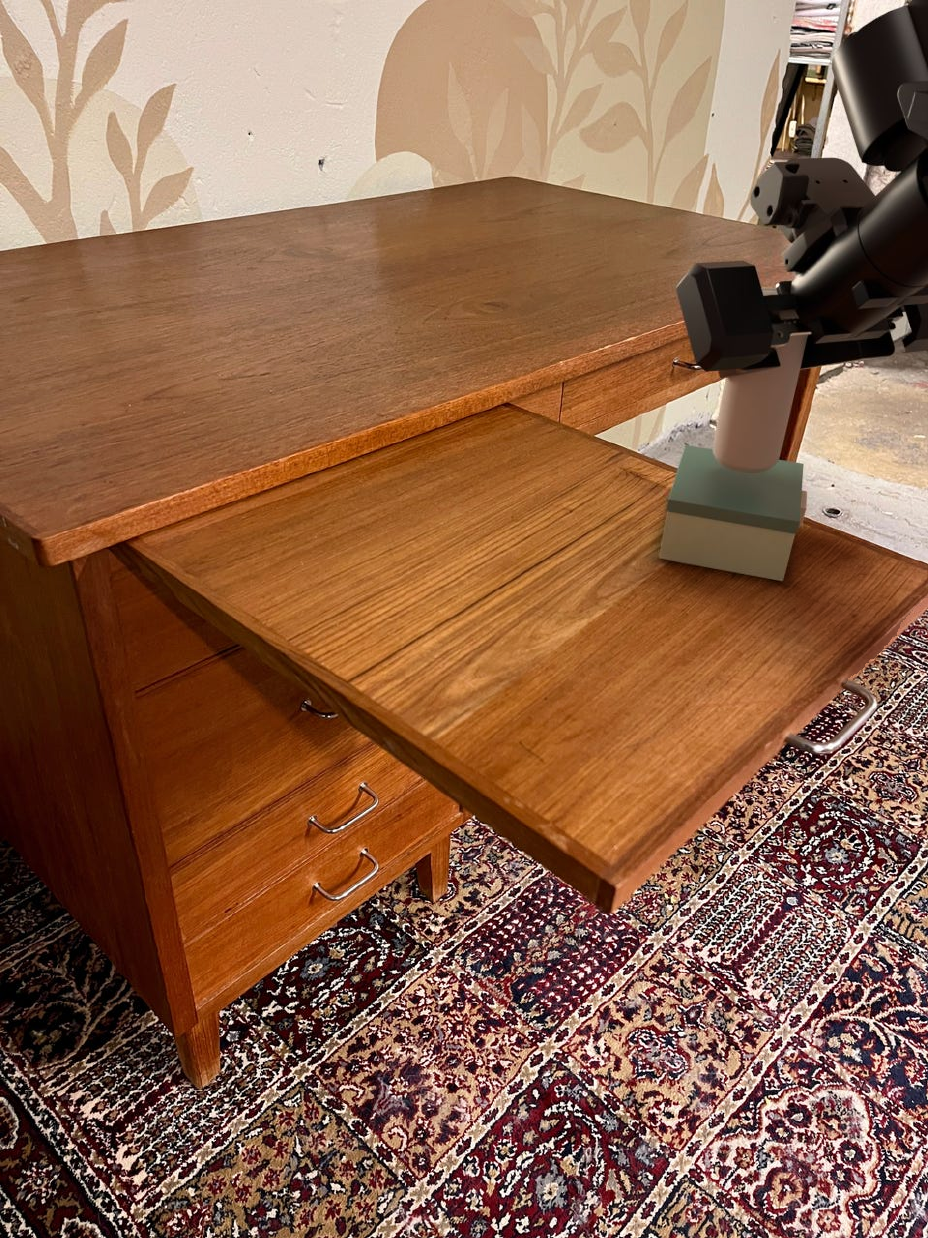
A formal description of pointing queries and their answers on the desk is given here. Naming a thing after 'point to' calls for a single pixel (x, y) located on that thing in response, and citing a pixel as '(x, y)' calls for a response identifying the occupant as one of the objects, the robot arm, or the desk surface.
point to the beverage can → (758, 410)
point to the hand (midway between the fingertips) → (751, 368)
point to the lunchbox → (733, 515)
